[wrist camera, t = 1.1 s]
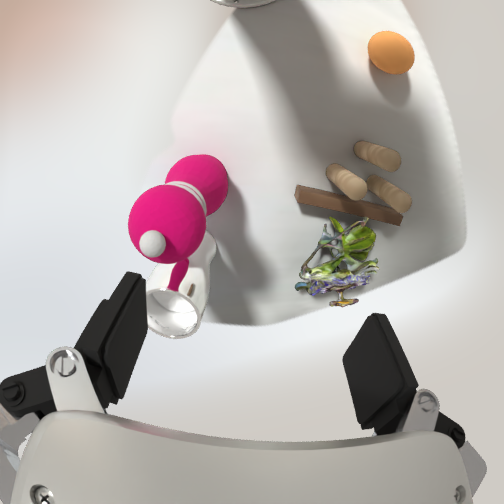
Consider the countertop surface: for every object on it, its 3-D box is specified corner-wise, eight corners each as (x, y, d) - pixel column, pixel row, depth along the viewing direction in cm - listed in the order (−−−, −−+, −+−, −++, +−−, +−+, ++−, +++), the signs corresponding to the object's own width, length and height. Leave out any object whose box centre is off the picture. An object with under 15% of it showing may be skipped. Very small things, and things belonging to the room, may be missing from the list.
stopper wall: (296, 184, 34) (300, 190, 31) (393, 208, 35) (403, 216, 33) (294, 195, 35) (297, 202, 32) (390, 218, 36) (399, 226, 33)
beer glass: (164, 233, 37) (122, 297, 24) (207, 216, 36) (180, 278, 23) (185, 272, 41) (158, 345, 27) (227, 258, 39) (214, 333, 26)
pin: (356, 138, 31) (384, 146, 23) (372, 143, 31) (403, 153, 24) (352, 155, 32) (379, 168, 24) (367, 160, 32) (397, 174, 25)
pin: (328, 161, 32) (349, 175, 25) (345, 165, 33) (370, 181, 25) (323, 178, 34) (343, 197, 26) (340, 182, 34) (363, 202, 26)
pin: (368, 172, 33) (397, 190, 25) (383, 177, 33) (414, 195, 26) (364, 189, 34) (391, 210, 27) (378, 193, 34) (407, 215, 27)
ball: (363, 30, 23) (382, 18, 18) (402, 47, 24) (425, 40, 19) (357, 66, 26) (376, 59, 21) (397, 83, 27) (420, 80, 21)
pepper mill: (190, 141, 31) (116, 174, 14) (241, 166, 33) (224, 228, 15) (168, 189, 34) (91, 267, 17) (215, 213, 36) (179, 312, 18)
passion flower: (322, 253, 45) (294, 310, 38) (307, 199, 38) (270, 257, 32) (387, 260, 38) (369, 325, 32) (383, 200, 32) (365, 268, 25)
